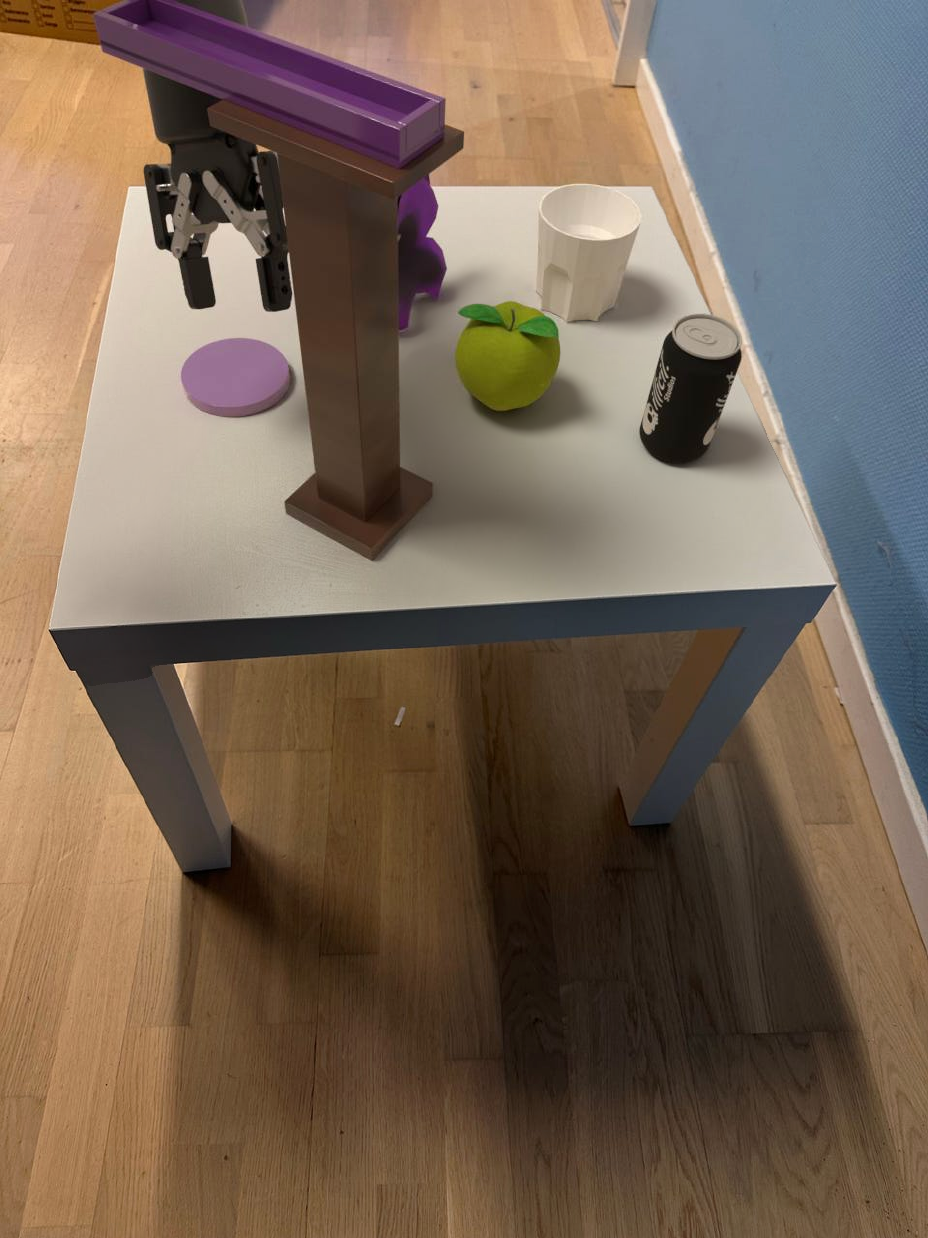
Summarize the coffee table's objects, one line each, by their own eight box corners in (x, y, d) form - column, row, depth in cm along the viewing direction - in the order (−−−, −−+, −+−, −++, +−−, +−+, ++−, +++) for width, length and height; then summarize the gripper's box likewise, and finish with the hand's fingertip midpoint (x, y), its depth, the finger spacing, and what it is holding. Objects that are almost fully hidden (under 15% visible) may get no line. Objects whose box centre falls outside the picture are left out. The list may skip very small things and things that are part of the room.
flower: (308, 356, 96) (400, 348, 87) (237, 217, 87) (333, 193, 78) (386, 289, 103) (477, 276, 95) (328, 155, 94) (423, 128, 86)
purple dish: (399, 169, 48) (399, 129, 46) (102, 52, 54) (92, 12, 52) (444, 137, 50) (446, 97, 49) (154, 27, 56) (146, -11, 55)
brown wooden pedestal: (391, 571, 73) (382, 190, 47) (267, 503, 76) (194, 114, 50) (452, 504, 77) (474, 124, 51) (332, 443, 81) (295, 58, 55)
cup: (610, 270, 99) (628, 182, 91) (630, 326, 93) (651, 238, 85) (521, 272, 98) (531, 184, 90) (536, 329, 92) (548, 241, 84)
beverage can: (686, 478, 81) (724, 371, 71) (624, 445, 83) (653, 336, 73) (720, 439, 84) (761, 331, 74) (659, 408, 86) (691, 300, 76)
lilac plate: (242, 431, 81) (240, 421, 80) (160, 388, 84) (157, 378, 83) (311, 373, 86) (310, 363, 85) (231, 334, 89) (229, 324, 88)
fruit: (528, 444, 82) (541, 354, 74) (438, 409, 84) (442, 319, 76) (567, 386, 87) (583, 297, 79) (481, 355, 89) (488, 265, 81)
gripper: (90, 73, 63) (142, 314, 70) (224, 44, 55) (267, 318, 62) (177, 78, 68) (216, 301, 75) (310, 52, 61) (340, 304, 68)
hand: (239, 309), depth 69 cm, fingers open, 8 cm apart
